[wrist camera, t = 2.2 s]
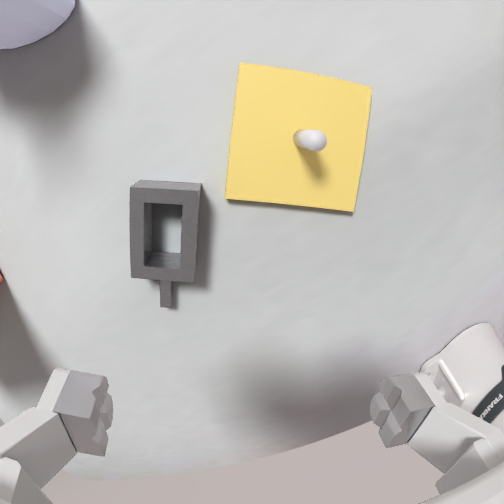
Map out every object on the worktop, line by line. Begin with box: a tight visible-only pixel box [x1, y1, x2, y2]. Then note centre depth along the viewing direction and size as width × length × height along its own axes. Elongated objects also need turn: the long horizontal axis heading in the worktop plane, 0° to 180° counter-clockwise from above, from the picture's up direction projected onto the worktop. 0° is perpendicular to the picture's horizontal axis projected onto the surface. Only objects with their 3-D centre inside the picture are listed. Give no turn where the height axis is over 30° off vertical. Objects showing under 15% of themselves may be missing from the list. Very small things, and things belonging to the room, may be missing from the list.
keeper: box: [225, 63, 372, 212], centre depth 25 cm, size 12×12×6 cm
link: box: [130, 180, 201, 308], centre depth 28 cm, size 12×6×4 cm, turn 174°
